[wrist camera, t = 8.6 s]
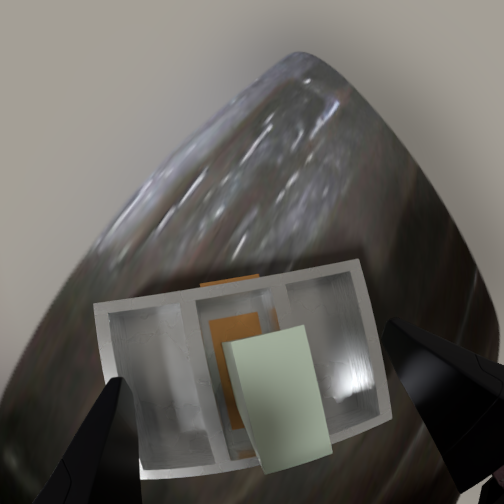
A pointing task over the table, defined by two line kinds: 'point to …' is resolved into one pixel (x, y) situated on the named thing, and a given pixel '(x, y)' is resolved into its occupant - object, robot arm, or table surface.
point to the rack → (215, 369)
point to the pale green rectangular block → (278, 397)
